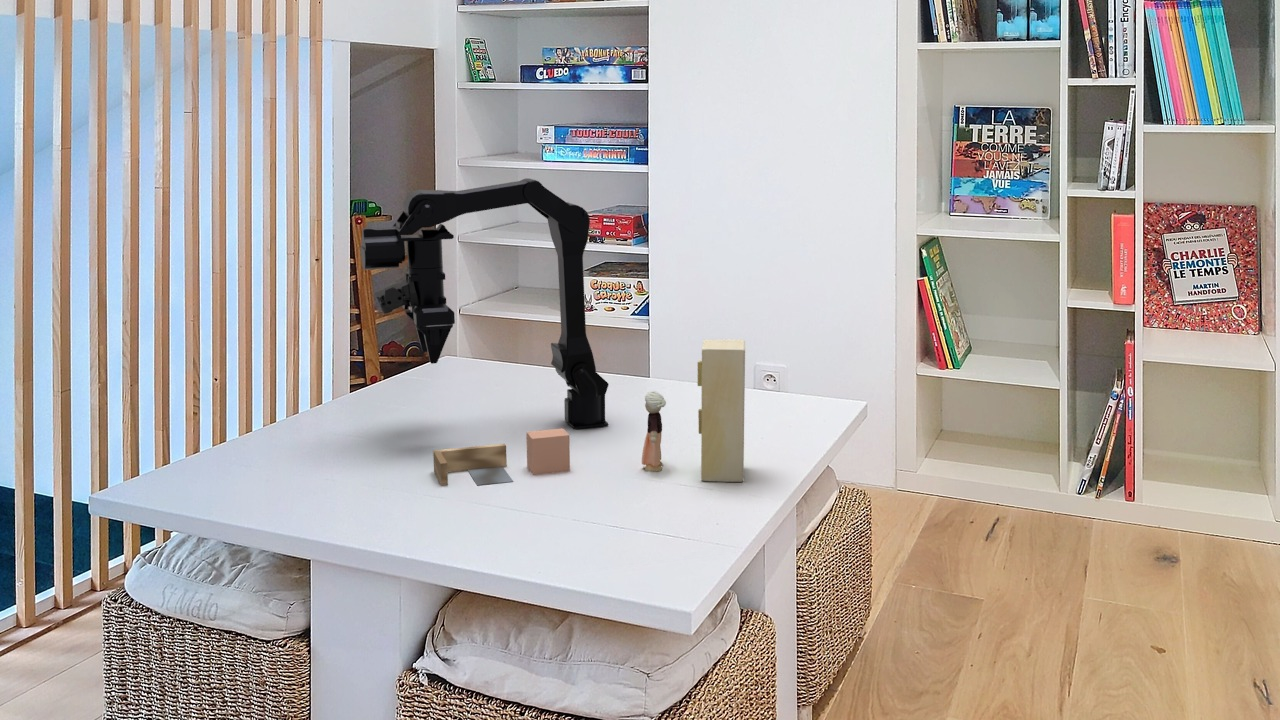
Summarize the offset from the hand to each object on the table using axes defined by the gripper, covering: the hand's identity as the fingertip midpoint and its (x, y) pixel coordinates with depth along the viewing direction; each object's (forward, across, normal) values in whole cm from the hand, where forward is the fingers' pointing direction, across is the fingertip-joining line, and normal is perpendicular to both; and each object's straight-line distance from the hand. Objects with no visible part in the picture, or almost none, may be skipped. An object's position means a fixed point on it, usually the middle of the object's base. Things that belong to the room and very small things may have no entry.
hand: (429, 357), depth 200 cm
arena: (+14, +22, +3) cm, 27 cm away
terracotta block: (+15, +22, +15) cm, 31 cm away
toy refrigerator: (+15, +33, +40) cm, 54 cm away
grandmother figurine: (+15, +27, +31) cm, 44 cm away
